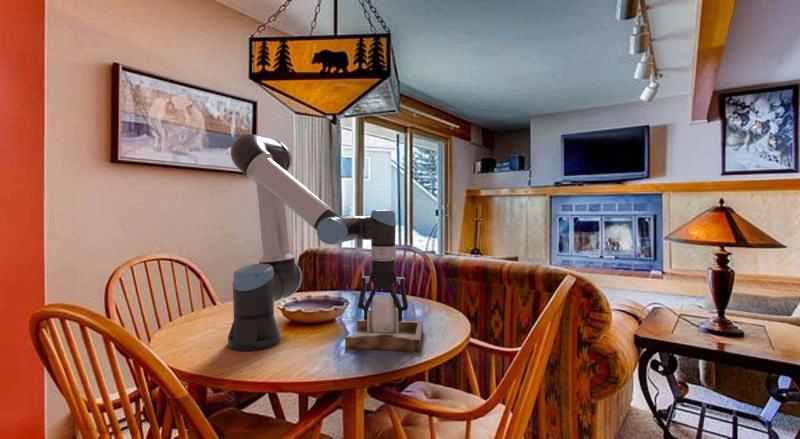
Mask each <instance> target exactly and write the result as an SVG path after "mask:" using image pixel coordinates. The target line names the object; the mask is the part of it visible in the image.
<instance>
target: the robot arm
mask: <svg viewBox="0 0 800 439" xmlns="http://www.w3.org/2000/svg"><path fill="white" fill-rule="evenodd" d="M230 148H231V149H230V157H231V160H232V162H233V164H234V165H235V167H236V168H237V169H239V171H240V172H242V173H243V174H244V175H245V176H246V177H247V178H248V179H250V180H251V181H252V182H254V183H255V185H256V192H257V193H256V194H257V204H258V214H259V216H258V217H259V225H260V235H261V247H262V257H261V258H260V259H259V260H258V263H254V264H253V263H252V264H249V265H248V264H247V265H245V266H242V267H239V268H238V269H236V270H235V271H234V272H233V278H232V292H233V293H232V296H233V298H232V299H233V301H232V302H233V319H232V320H233V321H232V324H231V327H230V330H229V334H228V336H227V347H228V348H229V349H230V350H234V351H239V352H253V351H259V350H265V349H269V348H271V347H274V346H276V345H277V344H278V343H280V341H281V332H280V329H279V325H278V324H277V321H276V318H275V302H277V301H280V300H282V299H285V298H286V299H287V298H288V297H290V296H292V294H294V293H296V292H297V291H298V290H299V289H300V287H301V285H302V282H303V273H302V270H301V269H302V268H300V266H298V264H297V263H296V261H295V256H294V255H293V254H292V253H291V252H290V244H289V242H290V241H289V233H288V222H287V212H286V206H287V207H288V208H290V209H291V210H292V211H294V213H296V214H297V216H299V217H300V218H301V219H303V220H304V221H305V222H306V223H307V224H308V225H310V226H311V227H312V228H313V229H314V230H315V231H316V234H317V236H318V238H319V241H321V243H323V244H326V245H339V244H341V243H344V242H350V241H355V240H356V241H357V240H361V241H362V240H367V241H368V240H369V241H370V243H371V245H370V247H371V249H370V250H371V251H370V255H371V256H370V258H371V261H370V269H371V270H370V271H371V272H370V274H369V276H362V277H361V278H360V281H361V282H360V283H361V289H360V294H359V298H358V299H359V300H358V304H357V309H361V310H362V311H363V319H364V320H365V321H367V332H370V330H371V308H370V307H371V301H372V299H373V297H374V296H376V295H375V294H376V292H377V291H378V290H388V292H389V295H391V296H392V298H393V300H394V303H395V305H396V307H397V310H396V333H398V332H399V322H401V321H403V311H408V309H409V303H408V298H407V297H408V296H407V291H406V287H405V282H406V278H405V277H404V276H402V277H400V276H399V277H398V276H397V274H396V260H395V258H396V228H397V227H396V226H397V224H396V213H395V211H393V210H392V209H373V210H371V214H370V215H363V216H362V215H346V214H345V215H340V214H338V213H337V212H336V211H334V209H332V208H331V207H330V206H329V205H328V204H326V203H325V202H324V201H322V200H321V199H320V198H319V197H318V196H317V195H315V194H314V193H313V192H312V191H310V189H308V188H307V187H306V186H305V185H303V184H302V183H301V182H300V181H298V180H297V179H296V178H295V177H294V176H293V175H291V174H290V173H289V172H288V171H289V168H290V167H291V166H292V154H291V152H290V149H289V148H288V147H287V146H286V144H284V143H283V142H281V141H279V140H276V139H274V138H268V137H264V136H260V135H257V134H254V133H253V134H252V133H247V134H243V135H241V136H239V137H237V138H235V140H234V141H233V143H232V145H231V147H230ZM369 282H371V283H372V284H373V287H372V289H371V292H370V294H369V296H368V298H367V300H366V303H364V302H365V297H366V293H367V288H368V287H367V286H368V284H369ZM395 282H397V284H398V285H399V290H400V296H401V300H402V301H400V299H399V297H398V295H397V292H396V290H395V287H394V284H395ZM401 302H402V304H401Z"/></svg>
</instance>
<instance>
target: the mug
mask: <svg viewBox="0 0 800 439" xmlns="http://www.w3.org/2000/svg"><path fill="white" fill-rule="evenodd" d="M370 309H371V329H372V331H373V332H375V333H380V334H386V333H392V332H394V331H395V330H396V310H398V309H397V307H396V305H395V303H394V300H393V298H392V296H391V294H379V295H374V297H373V299H372V301H371V304H370Z"/></svg>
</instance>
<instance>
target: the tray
mask: <svg viewBox="0 0 800 439" xmlns="http://www.w3.org/2000/svg"><path fill="white" fill-rule="evenodd" d="M423 333H424V321H421V320H402V321H401V322H399V332H398V333H396V330H395V331H394V332H392V333H386V334H380V333H375V332H373V331H372V329H371V330H370V332H367V321H365V320H364V318H363V319H362V318H359V319H357V320H356V330H355V331H354V333H353V335H349V334H348V335H345V337H344V346H345V348H344V349H345V350H361V351H363V350H365V351H384V352H385V351H391V352H409V353H411V352H414V353H420V352H421V347H422V340H423Z"/></svg>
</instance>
